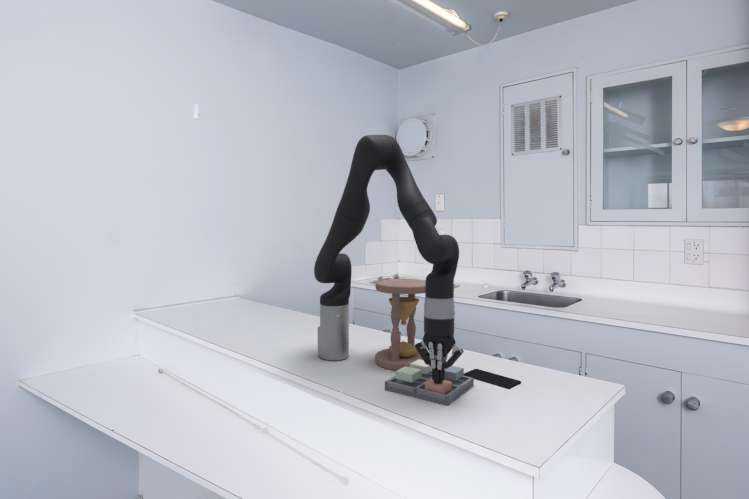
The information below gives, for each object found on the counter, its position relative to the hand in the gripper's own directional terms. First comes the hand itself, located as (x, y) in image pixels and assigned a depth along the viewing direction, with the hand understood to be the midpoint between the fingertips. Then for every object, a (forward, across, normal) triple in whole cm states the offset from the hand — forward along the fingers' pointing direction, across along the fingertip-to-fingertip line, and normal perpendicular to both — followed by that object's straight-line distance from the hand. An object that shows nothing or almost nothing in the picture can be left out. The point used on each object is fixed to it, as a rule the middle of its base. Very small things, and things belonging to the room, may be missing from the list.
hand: (438, 382), depth 118 cm
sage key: (+1, -9, 0) cm, 9 cm away
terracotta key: (+2, 0, 0) cm, 2 cm away
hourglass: (+4, -22, +19) cm, 29 cm away
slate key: (+1, 0, +8) cm, 8 cm away
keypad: (+4, -4, +4) cm, 7 cm away
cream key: (+1, -9, +8) cm, 12 cm away
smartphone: (+4, +6, +20) cm, 21 cm away
